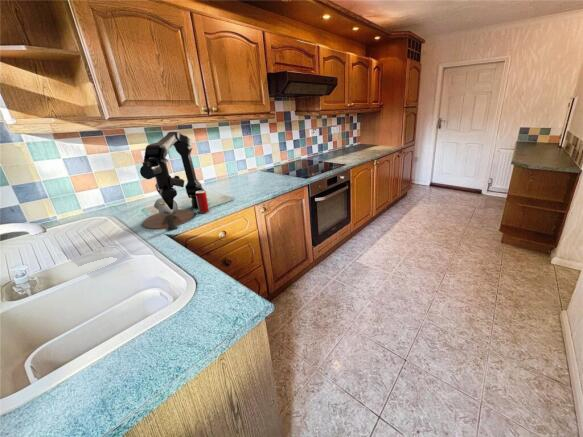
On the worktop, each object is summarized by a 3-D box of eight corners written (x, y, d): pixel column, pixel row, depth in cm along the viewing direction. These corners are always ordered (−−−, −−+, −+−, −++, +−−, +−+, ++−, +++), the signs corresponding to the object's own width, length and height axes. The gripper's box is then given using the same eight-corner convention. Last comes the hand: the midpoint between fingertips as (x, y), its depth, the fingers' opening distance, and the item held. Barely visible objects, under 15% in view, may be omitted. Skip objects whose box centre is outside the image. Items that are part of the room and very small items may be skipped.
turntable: (142, 216, 141) (139, 204, 139) (190, 207, 152) (187, 195, 149) (143, 236, 118) (138, 221, 115) (199, 223, 128) (196, 209, 126)
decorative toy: (155, 208, 143) (143, 215, 124) (163, 192, 142) (153, 196, 123) (175, 217, 146) (167, 225, 127) (183, 202, 146) (176, 207, 127)
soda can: (211, 211, 144) (207, 190, 139) (202, 214, 140) (198, 193, 136) (205, 209, 147) (202, 189, 143) (197, 212, 144) (192, 191, 139)
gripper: (185, 174, 111) (192, 208, 117) (176, 168, 126) (183, 198, 132) (157, 178, 106) (166, 214, 112) (151, 171, 120) (159, 203, 126)
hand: (169, 206), depth 121 cm, fingers open, 9 cm apart
